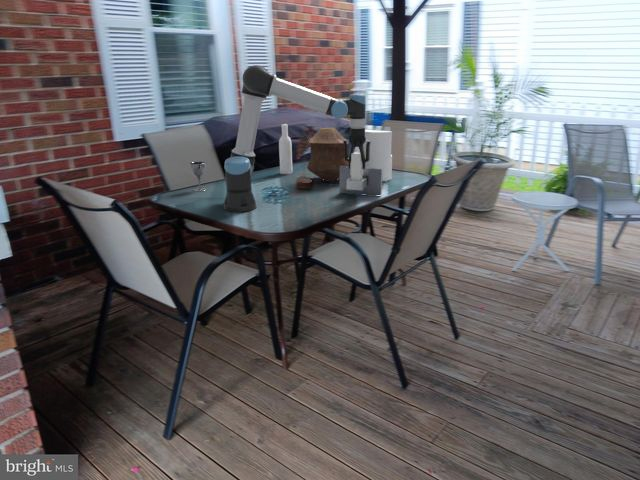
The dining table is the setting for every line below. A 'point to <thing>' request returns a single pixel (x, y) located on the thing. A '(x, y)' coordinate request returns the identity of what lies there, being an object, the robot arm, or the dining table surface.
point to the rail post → (356, 166)
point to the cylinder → (379, 151)
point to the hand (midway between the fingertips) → (356, 175)
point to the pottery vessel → (327, 154)
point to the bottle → (285, 151)
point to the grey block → (367, 186)
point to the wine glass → (198, 172)
